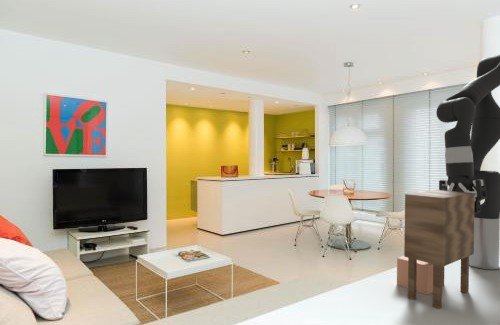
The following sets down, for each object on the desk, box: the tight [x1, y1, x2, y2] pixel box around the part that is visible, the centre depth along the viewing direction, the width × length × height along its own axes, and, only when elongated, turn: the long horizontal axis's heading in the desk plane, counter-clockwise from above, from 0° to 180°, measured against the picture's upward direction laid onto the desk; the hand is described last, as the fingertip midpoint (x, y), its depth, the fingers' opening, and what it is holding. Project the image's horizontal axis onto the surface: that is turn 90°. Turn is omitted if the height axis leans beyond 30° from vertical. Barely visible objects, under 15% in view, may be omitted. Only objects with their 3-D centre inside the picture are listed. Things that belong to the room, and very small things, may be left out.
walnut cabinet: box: [403, 189, 475, 309], centre depth 92 cm, size 18×11×28 cm, turn 126°
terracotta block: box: [396, 255, 433, 295], centre depth 97 cm, size 4×9×8 cm, turn 36°
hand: (462, 212), depth 106 cm, fingers open, 8 cm apart
